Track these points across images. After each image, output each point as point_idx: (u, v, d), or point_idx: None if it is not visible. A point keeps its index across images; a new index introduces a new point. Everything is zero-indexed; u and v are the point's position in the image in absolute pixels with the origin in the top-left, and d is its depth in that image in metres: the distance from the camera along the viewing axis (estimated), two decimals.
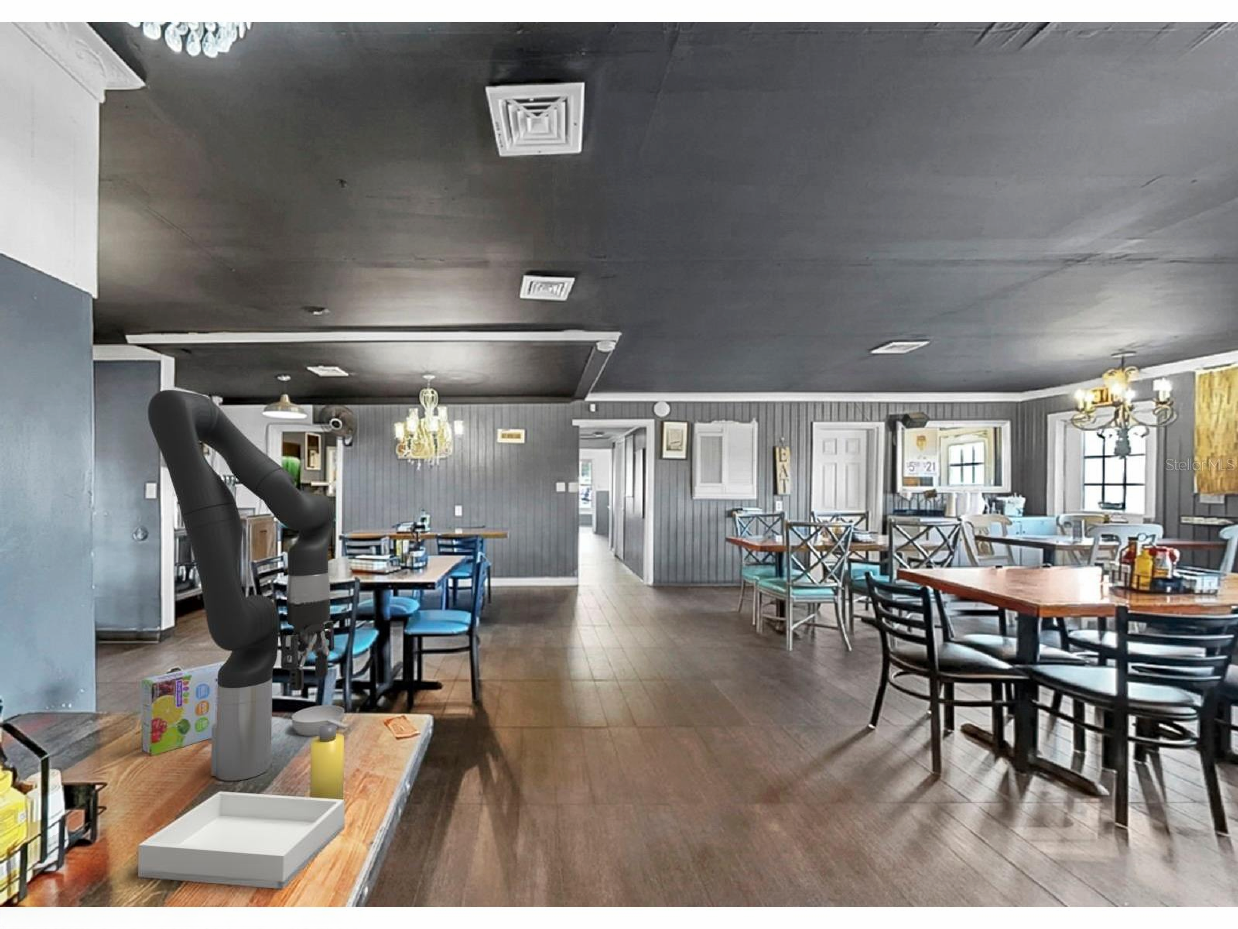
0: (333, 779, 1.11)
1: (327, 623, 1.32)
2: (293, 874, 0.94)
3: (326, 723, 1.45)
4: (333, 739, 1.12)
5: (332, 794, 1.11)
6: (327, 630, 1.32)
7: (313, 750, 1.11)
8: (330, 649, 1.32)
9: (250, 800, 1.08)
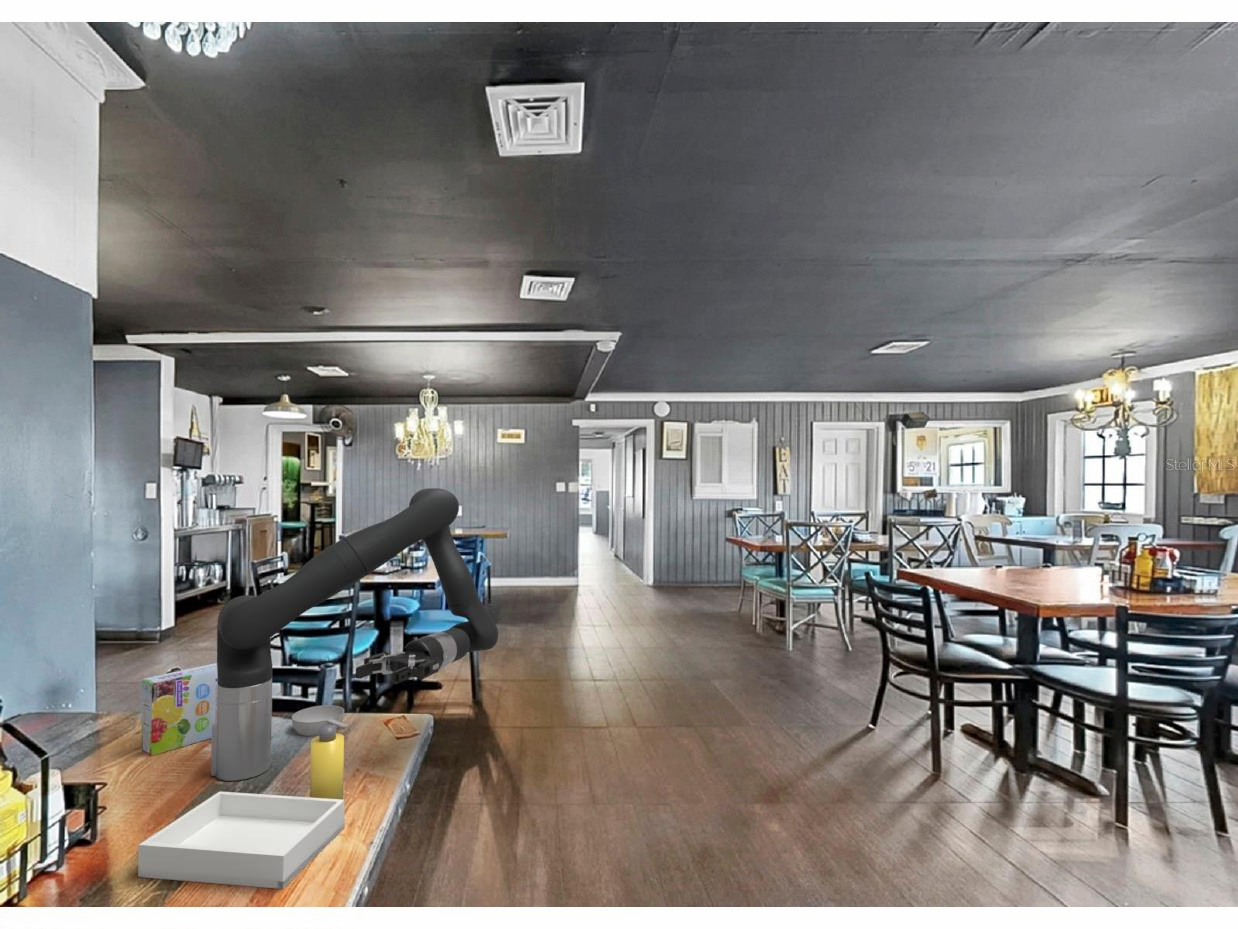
0: (333, 779, 1.11)
1: None
2: (293, 874, 0.94)
3: (326, 723, 1.45)
4: (333, 739, 1.12)
5: (332, 794, 1.11)
6: None
7: (313, 750, 1.11)
8: None
9: (250, 800, 1.08)
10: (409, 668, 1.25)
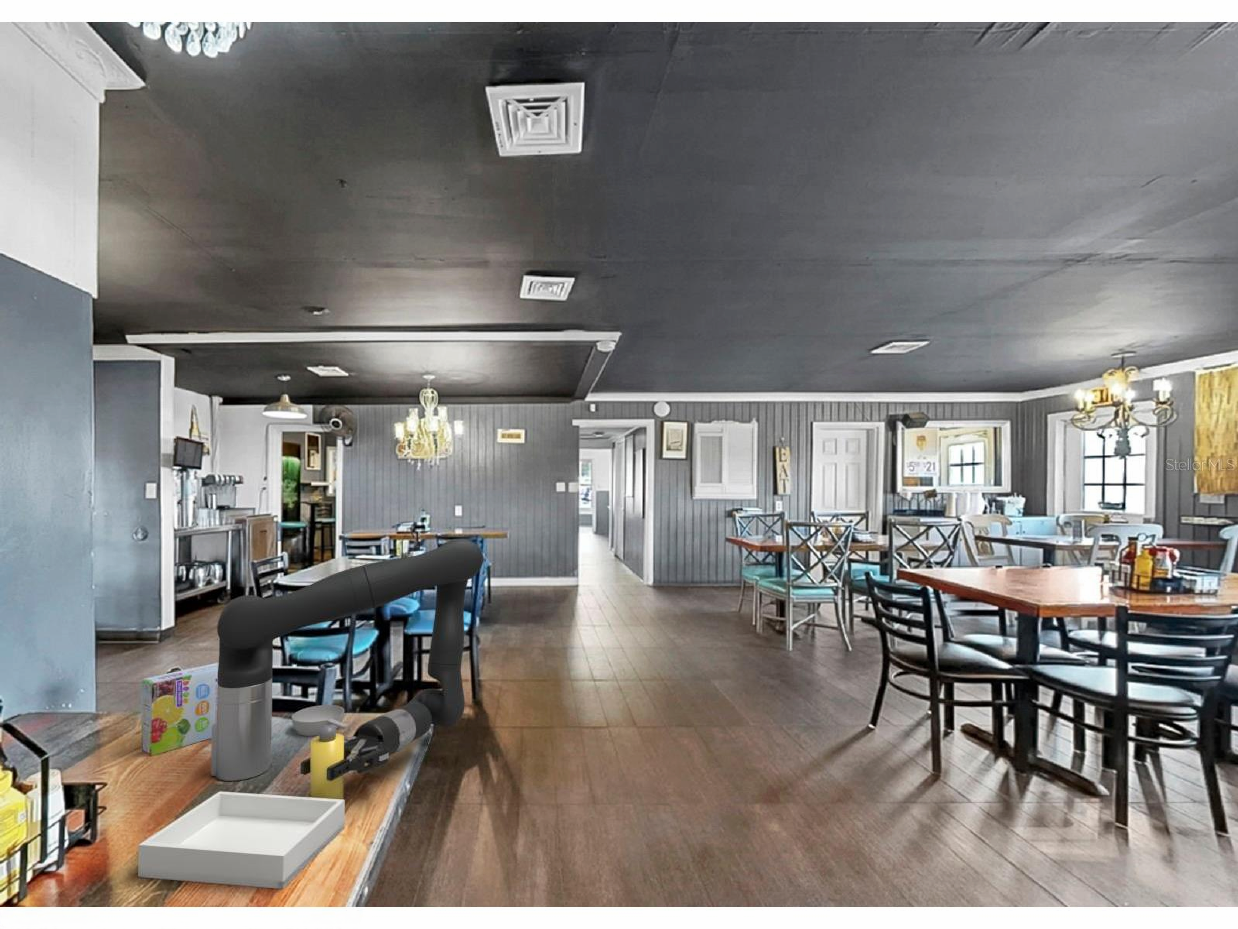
0: None
1: None
2: (293, 874, 0.94)
3: (326, 723, 1.45)
4: (333, 739, 1.12)
5: (332, 793, 1.11)
6: None
7: (313, 750, 1.11)
8: None
9: (250, 800, 1.08)
10: (348, 761, 1.13)
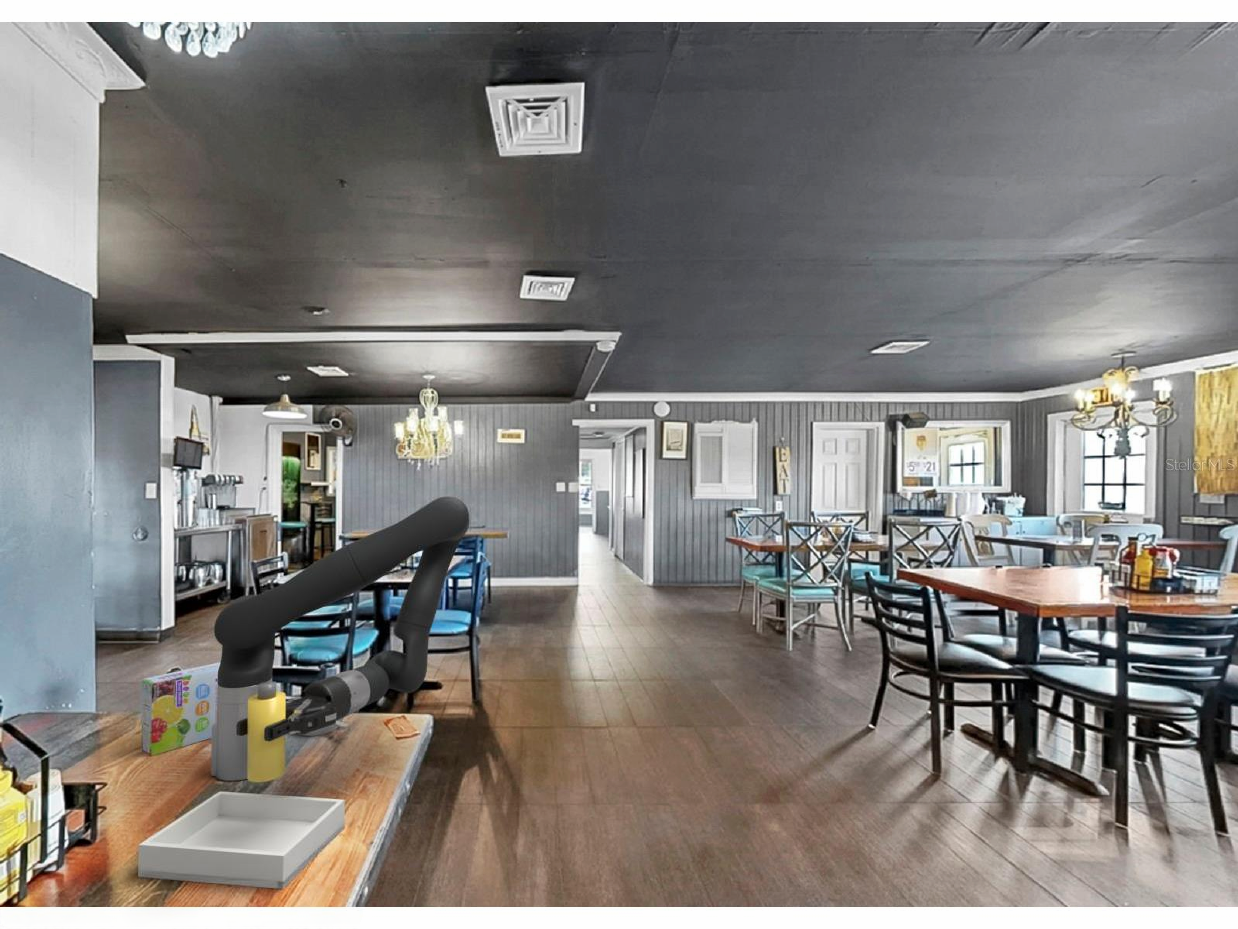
0: None
1: None
2: (293, 874, 0.94)
3: None
4: (273, 697, 1.02)
5: (271, 756, 1.01)
6: None
7: (250, 708, 1.01)
8: None
9: (250, 800, 1.08)
10: (289, 720, 1.03)
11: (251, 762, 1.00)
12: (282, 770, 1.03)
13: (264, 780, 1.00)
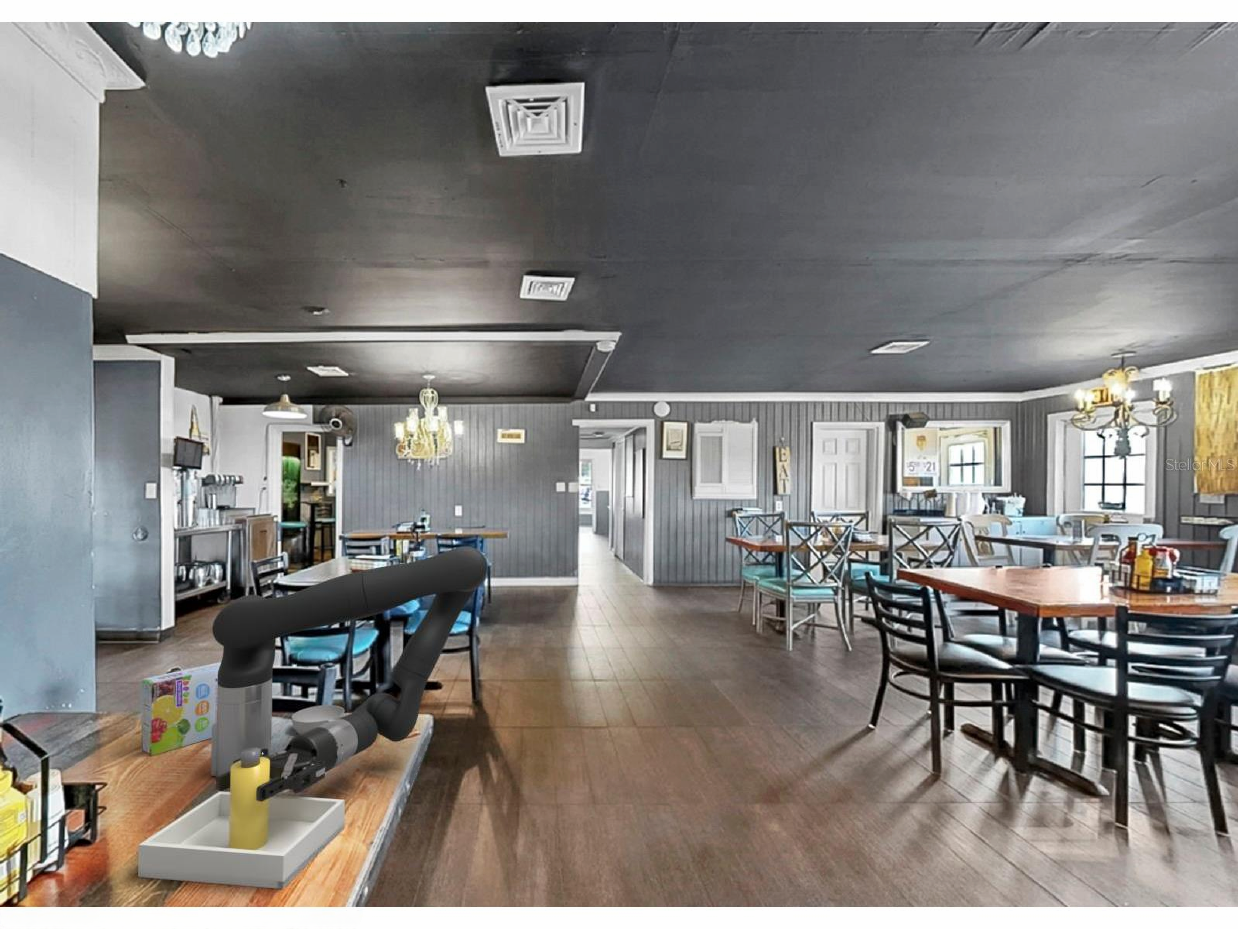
0: (255, 809, 0.99)
1: None
2: (293, 874, 0.94)
3: None
4: (256, 764, 1.00)
5: (253, 826, 0.99)
6: None
7: (233, 777, 0.98)
8: None
9: None
10: (282, 778, 1.00)
11: (233, 832, 0.98)
12: (264, 840, 1.00)
13: None
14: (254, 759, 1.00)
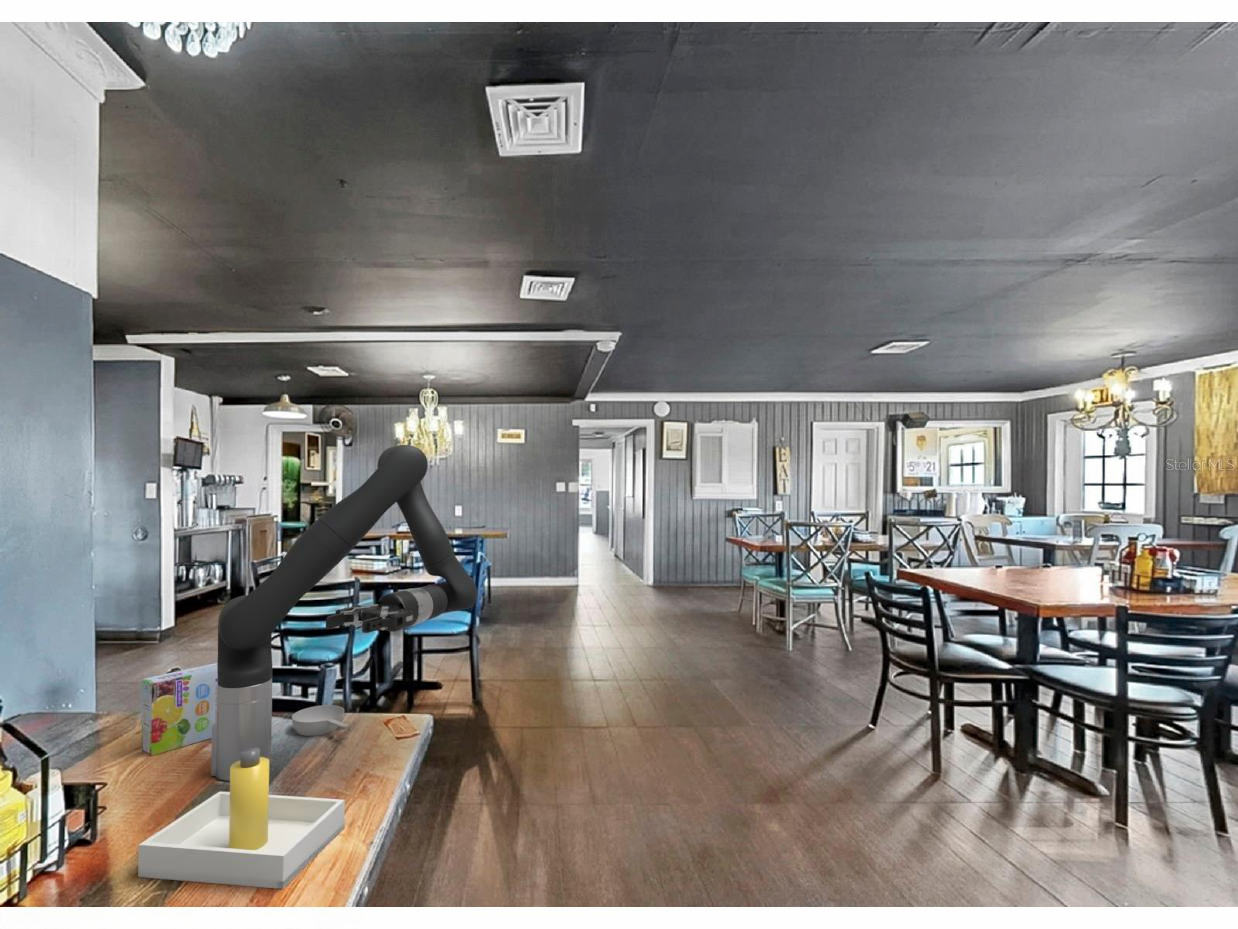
0: (255, 809, 0.99)
1: None
2: (293, 874, 0.94)
3: (326, 723, 1.45)
4: (256, 764, 1.00)
5: (253, 826, 0.99)
6: (358, 617, 1.30)
7: (232, 777, 0.98)
8: None
9: None
10: (381, 618, 1.21)
11: (232, 832, 0.98)
12: (264, 840, 1.00)
13: None
14: (253, 759, 1.00)
